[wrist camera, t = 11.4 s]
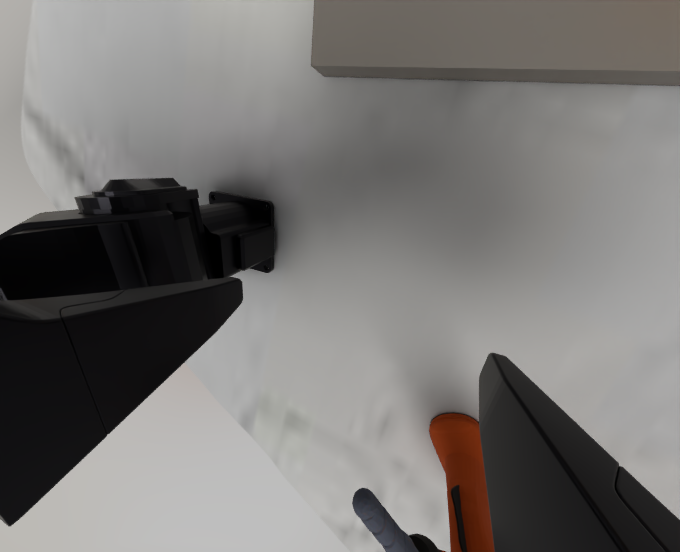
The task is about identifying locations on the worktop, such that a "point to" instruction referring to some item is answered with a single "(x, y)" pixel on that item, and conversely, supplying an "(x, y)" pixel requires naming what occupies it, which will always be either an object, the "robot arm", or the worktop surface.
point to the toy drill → (462, 492)
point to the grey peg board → (500, 40)
